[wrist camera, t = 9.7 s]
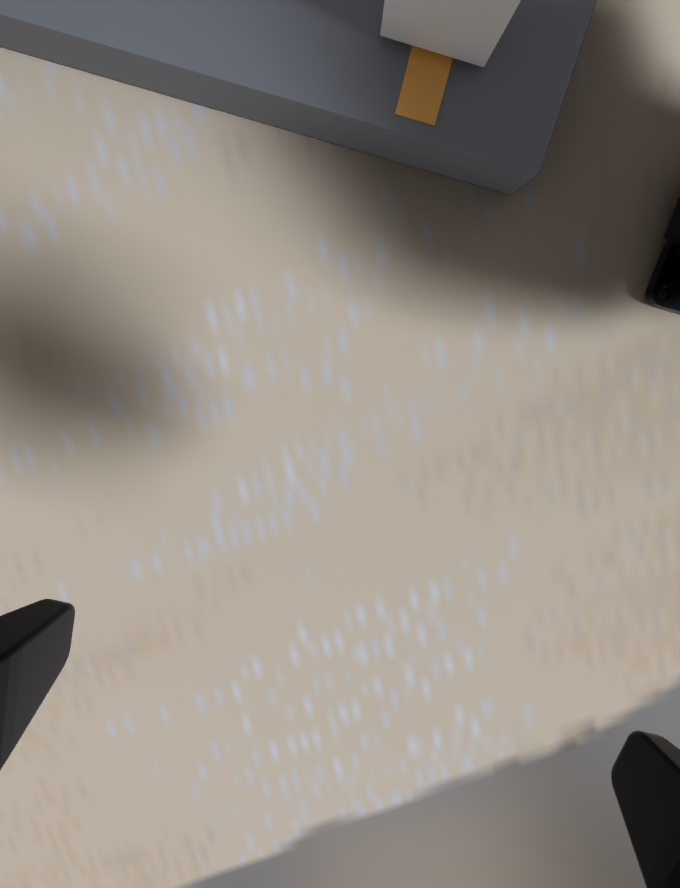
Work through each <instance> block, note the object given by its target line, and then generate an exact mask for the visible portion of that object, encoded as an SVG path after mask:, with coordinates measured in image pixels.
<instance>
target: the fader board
mask: <svg viewBox="0 0 680 888" xmlns="http://www.w3.org/2000/svg"><path fill="white" fill-rule="evenodd" d="M384 1H385V0H0V47H3V48H7V49H10V50H14V51H17V52H21V53H24V54H28V55H31V56H34V57H38V58H41V59H45V60H48V61H52V62H55V63H58V64H62V65H65V66H69V67H72V68H76V69H79V70H83V71H86V72H89V73H93V74H96V75H100V76H103V77H107V78H110V79H114V80H117V81H120V82H124V83H127V84H131V85H134V86H138V87H141V88H144V89H148V90H151V91H155V92H158V93H162V94H165V95H169V96H172V97H175V98H179V99H182V100H186V101H189V102H193V103H196V104H199V105H203V106H206V107H210V108H213V109H217V110H220V111H224V112H227V113H230V114H234V115H237V116H241V117H244V118H248V119H251V120H255V121H258V122H261V123H265V124H268V125H272V126H275V127H279V128H282V129H285V130H289V131H292V132H296V133H299V134H303V135H306V136H310V137H313V138H316V139H320V140H323V141H327V142H330V143H334V144H337V145H340V146H344V147H347V148H351V149H354V150H358V151H361V152H365V153H368V154H371V155H375V156H378V157H382V158H385V159H389V160H392V161H396V162H399V163H402V164H406V165H409V166H413V167H416V168H420V169H423V170H426V171H430V172H433V173H437V174H440V175H444V176H447V177H451V178H454V179H457V180H461V181H464V182H468V183H471V184H475V185H478V186H481V187H485V188H488V189H492V190H495V191H499V192H502V193H506V194H509V195H511V194H512V193H514V192H515V191H516V190H518V189H519V188H520V187H522V186H523V185H524V184H526V183H527V182H528V181H530V180H531V179H532V178H534V177H535V176H536V175H538V174H539V173H540V170H541V167H542V164H543V161H544V158H545V155H546V152H547V149H548V146H549V143H550V140H551V137H552V134H553V131H554V128H555V124H556V121H557V118H558V115H559V112H560V109H561V106H562V103H563V100H564V97H565V94H566V91H567V88H568V85H569V82H570V79H571V76H572V73H573V70H574V67H575V64H576V61H577V58H578V55H579V52H580V49H581V45H582V42H583V39H584V36H585V33H586V30H587V27H588V24H589V21H590V18H591V15H592V12H593V9H594V6H595V3H596V0H521V1H520V3H519V5H518V7H517V9H516V10H515V12H514V14H513V16H512V18H511V19H510V21H509V23H508V25H507V27H506V28H505V30H504V32H503V34H502V36H501V37H500V39H499V41H498V43H497V44H496V46H495V48H494V50H493V52H492V53H491V55H490V57H489V59H488V61H487V62H486V64H485V66H484V67H481V66H478V65H475V64H471V63H468V62H465V61H461V60H458V59H455V58H452V57H448V56H445V55H442V54H439V53H435V52H432V51H429V50H426V49H422V48H419V47H416V46H413V45H409V44H406V43H403V42H399V41H396V40H393V39H390V38H386V37H383V36H380V31H381V24H382V16H383V9H384Z"/></svg>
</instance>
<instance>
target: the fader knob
mask: <svg viewBox="0 0 680 888" xmlns="http://www.w3.org/2000/svg"><path fill="white" fill-rule="evenodd" d="M520 1H521V0H385V1H384V9H383V16H382V24H381V31H380V36H383V37H386V38H390V39H393V40H396V41H399V42H403V43H406V44H409V45H413V46H416V47H419V48H422V49H426V50H429V51H432V52H435V53H439V54H442V55H445V56H448V57H452V58H455V59H458V60H461V61H465V62H468V63H471V64H475V65H478V66H481V67H484V66H485V64H486V62H487V61H488V59H489V57H490V55H491V53H492V52H493V50H494V48H495V46H496V44H497V43H498V41H499V39H500V37H501V36H502V34H503V32H504V30H505V28H506V27H507V25H508V23H509V21H510V19H511V18H512V16H513V14H514V12H515V10H516V9H517V7H518V5H519V3H520Z"/></svg>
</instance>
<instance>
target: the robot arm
mask: <svg viewBox="0 0 680 888" xmlns="http://www.w3.org/2000/svg"><path fill="white" fill-rule="evenodd" d="M664 238H665V244H664V247H663V249H662V252H661V254H660V257H659V259H658V262H657V264H656V267H655V269H654V272H653V274H652V277H651V279H650V282H649V284H648V287H647V289H646V294H645V295H646V300H647V302H648V303H649V304H650V305H652V306H654V307H657V308H661V309H665V310H668V311H672V312H675V313H679V314H680V198H679V200H678V203H677V205H676V208H675V210H674V213H673V215H672V217H671V220H670V222H669V225H668V227H667V230H666V232H665V235H664ZM662 286H664V287H665V288H666V290H667V292H666V295H665V297H664V298H661V297H660V294H659V293H660V289H661V288H662ZM74 617H75V609H74V606H73V605H72V604H70V603H66V602H62V601H57V600H53V599H44V600H40V601H38V602H35V603H32V604H30V605H27V606H25V607H22V608H20V609H17V610H14V611H12V612H9V613H7V614H4V615H1V616H0V770H1V768H2V767H3V765H4V764H5V762H6V760H7V759H8V757H9V756H10V754H11V752H12V751H13V749H14V748H15V746H16V744H17V743H18V741H19V739H20V738H21V736H22V734H23V733H24V731H25V729H26V728H27V726H28V725H29V723H30V721H31V720H32V718H33V716H34V715H35V713H36V711H37V710H38V708H39V706H40V705H41V703H42V701H43V700H44V698H45V697H46V695H47V693H48V692H49V690H50V688H51V687H52V685H53V683H54V682H55V680H56V678H57V677H58V675H59V674H60V672H61V670H62V669H63V667H64V665H65V663H66V661H67V658H68V656H69V652H70V647H71V639H72V632H73V624H74ZM611 779H612V785H613V789H614V791H615V795H616V798H617V801H618V804H619V807H620V810H621V812H622V816H623V819H624V822H625V825H626V828H627V831H628V834H629V836H630V839H631V843H632V846H633V848H634V851H635V854H636V857H637V860H638V863H639V866H640V869H641V872H642V875H643V878H644V881H645V884H646V887H647V888H680V749H678V748H677V747H676V746H674V745H673V744H672V743H670V742H669V741H668V740H666V739H665V738H664V737H662V736H659V735H657V734H652V733H648V732H643V731H634V732H632V733H631V734H630V735H629V736H628V738H627V740H626V742H625V743H624V745H623V747H622V749H621V751H620V753H619V755H618V757H617V759H616V761H615V763H614V765H613V768H612V772H611Z"/></svg>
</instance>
